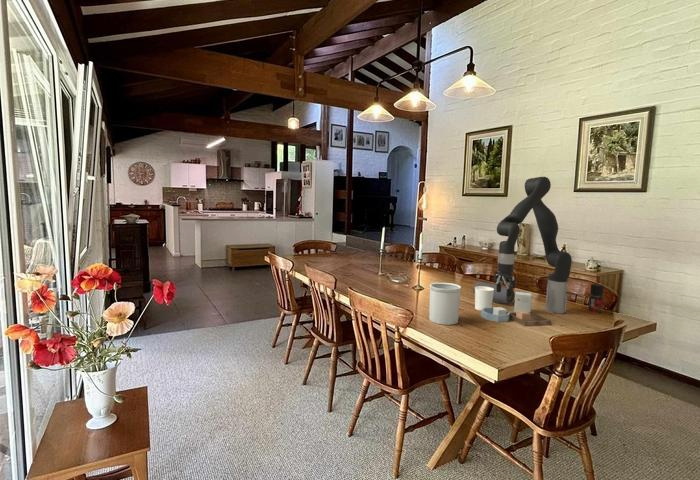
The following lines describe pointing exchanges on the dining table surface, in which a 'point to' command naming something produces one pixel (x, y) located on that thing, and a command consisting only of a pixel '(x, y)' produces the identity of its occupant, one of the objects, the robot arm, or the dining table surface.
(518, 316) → the tan cube
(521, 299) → the small box
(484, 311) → the ceramic bowl
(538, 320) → the walnut tray
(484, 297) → the candle holder
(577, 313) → the dining table surface
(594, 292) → the deodorant
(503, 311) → the off-white cube
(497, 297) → the bluetooth speaker
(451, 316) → the utensil holder
